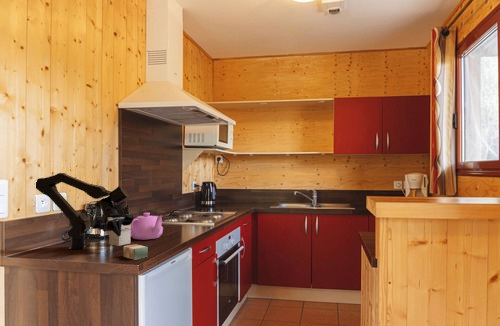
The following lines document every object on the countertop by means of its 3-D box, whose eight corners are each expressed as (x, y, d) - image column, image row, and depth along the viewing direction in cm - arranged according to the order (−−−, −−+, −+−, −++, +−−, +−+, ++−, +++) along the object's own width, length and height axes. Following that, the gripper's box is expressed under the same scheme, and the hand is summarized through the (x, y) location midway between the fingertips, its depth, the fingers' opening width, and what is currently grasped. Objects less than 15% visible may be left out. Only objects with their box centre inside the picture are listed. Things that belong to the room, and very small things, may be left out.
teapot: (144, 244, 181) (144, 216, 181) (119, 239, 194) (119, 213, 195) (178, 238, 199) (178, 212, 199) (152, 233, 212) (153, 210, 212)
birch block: (123, 246, 155) (135, 249, 149) (136, 244, 160) (147, 247, 154) (123, 256, 155) (134, 260, 149) (135, 254, 160) (147, 257, 154)
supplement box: (118, 246, 176) (119, 220, 176) (108, 244, 180) (109, 219, 180) (130, 243, 182) (131, 218, 183) (121, 242, 186) (121, 217, 186)
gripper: (120, 218, 181) (131, 243, 174) (82, 221, 167) (92, 249, 160) (129, 203, 176) (140, 229, 169) (91, 205, 162) (101, 234, 155)
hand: (119, 235), depth 163 cm, fingers closed
